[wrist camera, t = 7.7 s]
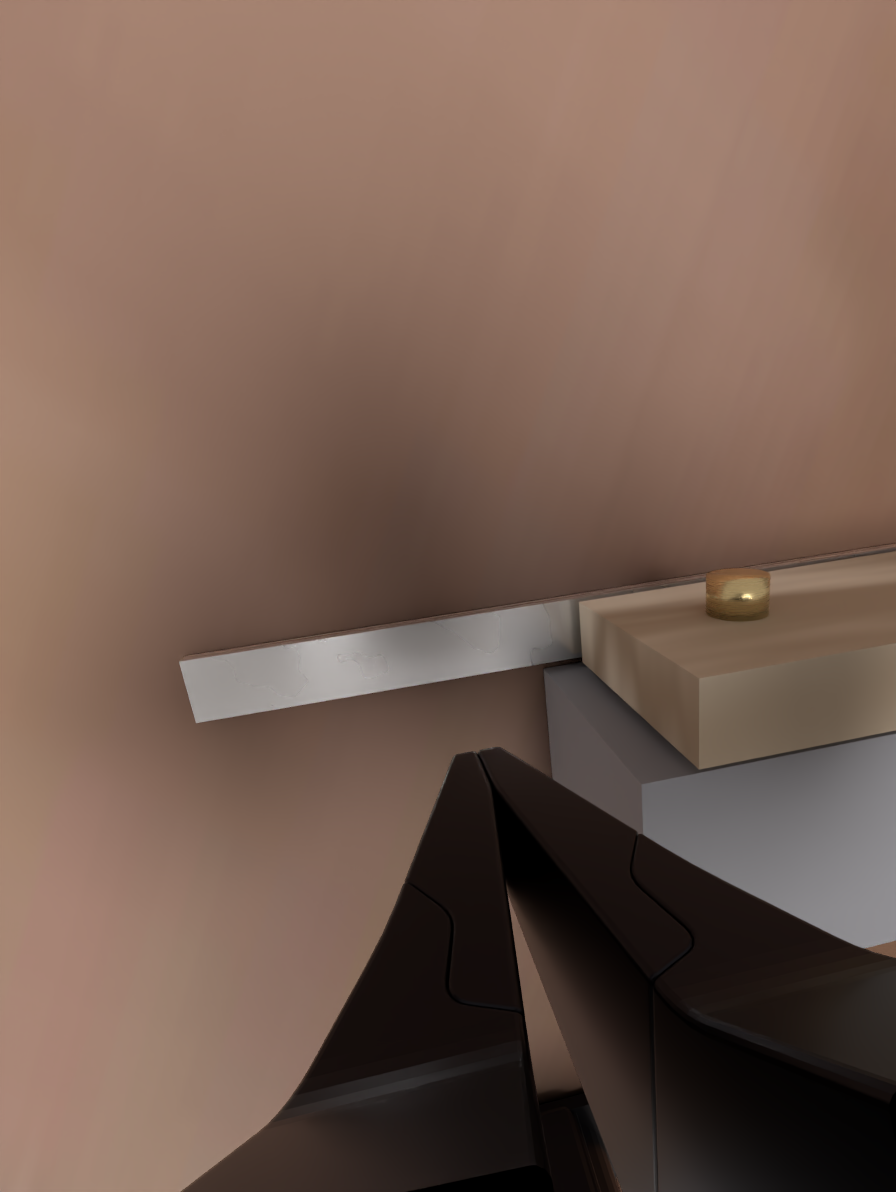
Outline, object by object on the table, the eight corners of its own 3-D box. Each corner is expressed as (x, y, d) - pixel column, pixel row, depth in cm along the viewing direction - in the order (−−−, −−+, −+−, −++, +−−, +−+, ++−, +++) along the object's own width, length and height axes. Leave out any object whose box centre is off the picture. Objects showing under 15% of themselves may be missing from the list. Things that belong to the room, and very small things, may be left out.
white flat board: (1086, 564, 19) (1450, 611, 12) (201, 715, 16) (78, 882, 9) (1096, 511, 18) (1482, 531, 12) (185, 655, 15) (43, 787, 9)
